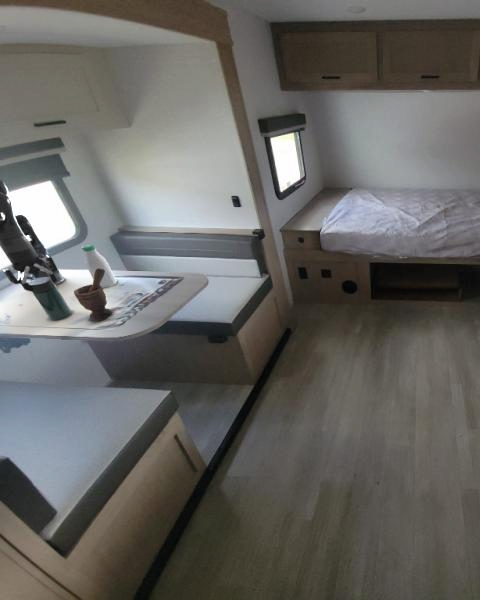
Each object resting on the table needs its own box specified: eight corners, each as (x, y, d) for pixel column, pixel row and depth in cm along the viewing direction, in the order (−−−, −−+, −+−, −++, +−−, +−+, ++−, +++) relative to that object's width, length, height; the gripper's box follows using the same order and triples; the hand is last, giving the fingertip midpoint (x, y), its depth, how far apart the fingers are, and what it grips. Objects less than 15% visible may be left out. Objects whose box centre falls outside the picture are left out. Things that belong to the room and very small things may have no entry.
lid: (27, 291, 130) (22, 284, 128) (46, 283, 135) (42, 275, 134) (40, 294, 128) (35, 286, 126) (60, 285, 134) (55, 278, 132)
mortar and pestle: (111, 305, 146) (89, 264, 135) (126, 308, 144) (106, 267, 134) (84, 319, 137) (58, 277, 126) (100, 323, 135) (76, 280, 124)
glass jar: (45, 318, 137) (22, 285, 128) (63, 309, 142) (43, 277, 134) (58, 321, 135) (36, 287, 127) (76, 312, 141) (56, 279, 133)
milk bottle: (121, 281, 165) (102, 243, 154) (108, 288, 158) (88, 250, 147) (106, 279, 165) (87, 242, 155) (93, 287, 159) (72, 249, 148)
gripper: (36, 239, 129) (58, 276, 138) (-14, 253, 118) (13, 292, 127) (47, 243, 127) (69, 280, 136) (-4, 257, 116) (24, 297, 124)
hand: (42, 286), depth 131 cm, fingers closed on lid, 7 cm apart
